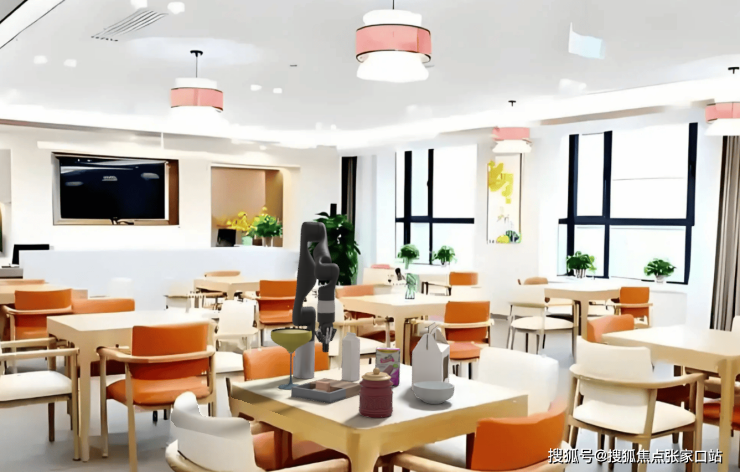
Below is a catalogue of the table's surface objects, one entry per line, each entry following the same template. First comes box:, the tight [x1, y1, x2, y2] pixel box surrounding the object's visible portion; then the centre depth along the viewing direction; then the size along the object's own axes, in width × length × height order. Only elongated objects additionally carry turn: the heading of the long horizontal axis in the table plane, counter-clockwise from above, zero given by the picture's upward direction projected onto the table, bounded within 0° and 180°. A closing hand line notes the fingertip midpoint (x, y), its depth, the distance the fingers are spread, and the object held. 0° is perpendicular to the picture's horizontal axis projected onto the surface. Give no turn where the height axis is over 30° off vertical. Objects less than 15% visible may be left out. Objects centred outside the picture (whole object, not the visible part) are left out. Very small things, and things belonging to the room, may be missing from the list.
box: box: [290, 382, 347, 404], centre depth 305 cm, size 20×11×4 cm, turn 56°
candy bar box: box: [374, 346, 402, 386], centre depth 332 cm, size 11×5×16 cm, turn 84°
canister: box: [358, 367, 394, 419], centre depth 279 cm, size 13×13×18 cm
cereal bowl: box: [413, 381, 455, 405], centre depth 300 cm, size 17×17×7 cm
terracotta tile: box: [315, 380, 330, 393], centre depth 307 cm, size 6×5×2 cm
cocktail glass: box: [270, 327, 312, 391], centre depth 324 cm, size 18×18×25 cm
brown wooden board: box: [308, 377, 361, 399], centre depth 314 cm, size 20×12×4 cm, turn 56°
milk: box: [341, 331, 361, 382], centre depth 341 cm, size 6×6×22 cm
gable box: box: [411, 322, 451, 392], centre depth 329 cm, size 22×13×28 cm, turn 165°
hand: (325, 352), depth 308 cm, fingers closed
